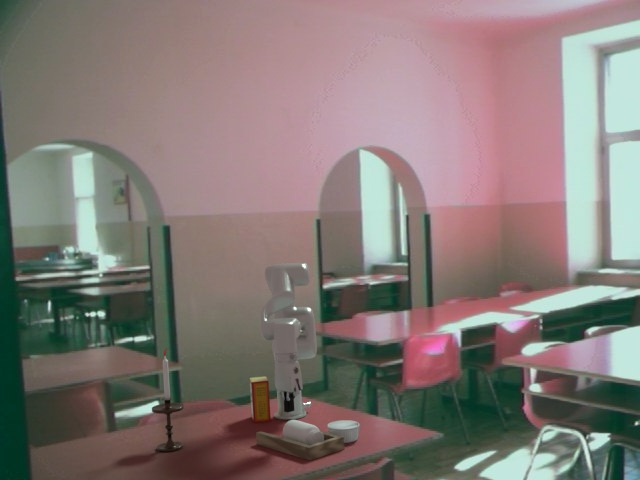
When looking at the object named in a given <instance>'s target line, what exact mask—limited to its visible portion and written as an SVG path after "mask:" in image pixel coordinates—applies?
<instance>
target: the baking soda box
mask: <svg viewBox="0 0 640 480" xmlns="http://www.w3.org/2000/svg"><path fill="white" fill-rule="evenodd" d="M248 380H249V395H250V411H251V412H250V413H251V419H252V422H253V424H257V423H259V424H260V423H265V422H266V423H268V422H271V421H272V419H271V417H272V416H271V403H270V401H271V400H270V385H269V379H268V377H267V376H255V377H249V378H248Z"/></svg>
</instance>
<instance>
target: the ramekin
mask: <svg viewBox="0 0 640 480" xmlns="http://www.w3.org/2000/svg"><path fill="white" fill-rule="evenodd" d="M360 426H361V425H360V423H359V422H358V421H355V420H350V419H349V420H348V419H347V420H346V419H345V420H343V419H341V420H335V421H331V422H329V423H327V427H326V428H327V430H328V433H331V434H335V435H339V436H343V437H344V444H349V443H354V442H355V441H357V440H358V438H359V433H360Z"/></svg>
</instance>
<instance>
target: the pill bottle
mask: <svg viewBox="0 0 640 480" xmlns="http://www.w3.org/2000/svg"><path fill="white" fill-rule="evenodd" d="M320 431H321V430H320V429H319V427H317V426H316V425H314V424H311V423H308V422H304V421H301V420H297V419H290V420H288V421H287V422H286V423H285V424H284V425H283V429H282V437H283V438H286V439H290V440H293V441H297V442H300V443H304V444H308V445H312V444H315V443H318V442H322V441H324V435H323V433H322V432H320Z"/></svg>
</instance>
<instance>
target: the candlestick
mask: <svg viewBox="0 0 640 480" xmlns="http://www.w3.org/2000/svg"><path fill="white" fill-rule="evenodd" d="M167 348H168V347H165V349H164V352H163V356H164V357H163V360H162V373H163V374H162V375H163V377H162V379H163V392H164V397H163V398H162V399H161V401H164V403H161V404H157V405H154V406H152V407H151V412H152V413H153V414H164V415H165V416H166V425H164V428H165V430H166V433H165V435H166V436H167V441H166V442H163V443H160V444H159V445H157V446H156V451H157V452H159V453H171V452H172V453H173V452H177V451H181V450H182V449H184V446H185V445H184V443H183V442H182V441H174V440H173V438H172V437H173V434H174V432H173V431H172V430H173V428H174V425H173V423H172V419H171V414H173V413H177V412H180V411H183V410H184V409H185V404H184V403H181V402H172V401H171V400H174V398H173V397H171V390H170V389H171V388H170V387H171V386H170V376H169V375H170V373H169V370H170V369H169V359H167V356H166V355H167V350H168V349H167Z"/></svg>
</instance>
